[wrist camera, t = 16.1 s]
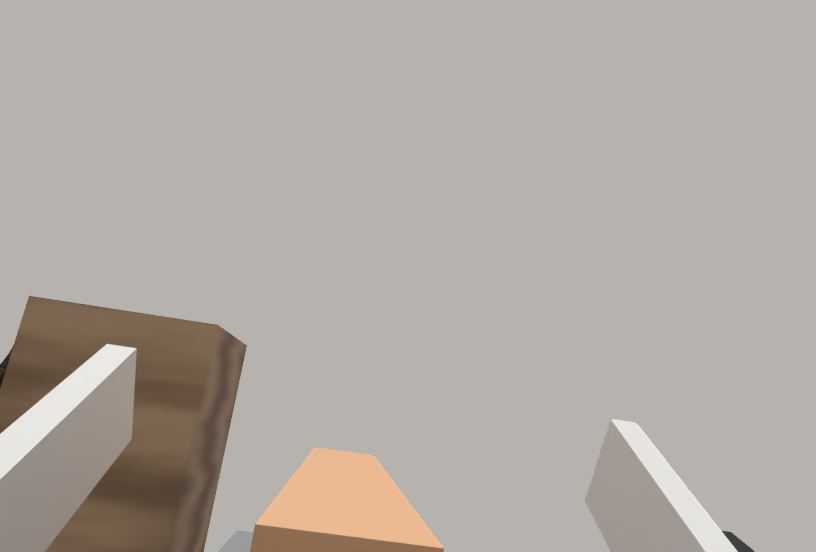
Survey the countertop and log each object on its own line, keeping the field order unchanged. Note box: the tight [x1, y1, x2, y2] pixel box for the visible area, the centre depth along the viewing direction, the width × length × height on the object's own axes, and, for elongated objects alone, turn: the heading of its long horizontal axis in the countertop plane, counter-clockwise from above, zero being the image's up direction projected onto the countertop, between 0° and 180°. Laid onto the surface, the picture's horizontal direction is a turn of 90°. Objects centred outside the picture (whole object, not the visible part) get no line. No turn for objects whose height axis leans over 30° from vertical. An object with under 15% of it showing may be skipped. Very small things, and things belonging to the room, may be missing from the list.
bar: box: [250, 447, 444, 552], centre depth 22 cm, size 25×4×4 cm, turn 6°
